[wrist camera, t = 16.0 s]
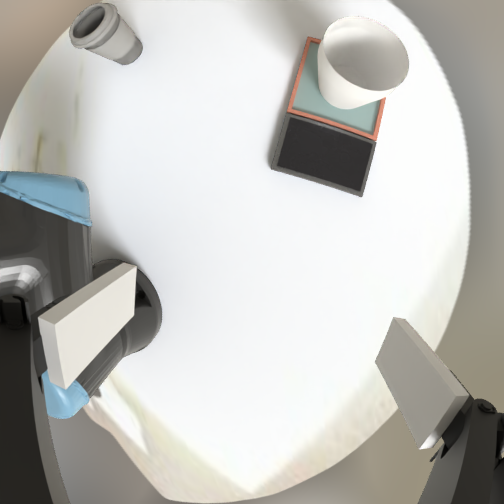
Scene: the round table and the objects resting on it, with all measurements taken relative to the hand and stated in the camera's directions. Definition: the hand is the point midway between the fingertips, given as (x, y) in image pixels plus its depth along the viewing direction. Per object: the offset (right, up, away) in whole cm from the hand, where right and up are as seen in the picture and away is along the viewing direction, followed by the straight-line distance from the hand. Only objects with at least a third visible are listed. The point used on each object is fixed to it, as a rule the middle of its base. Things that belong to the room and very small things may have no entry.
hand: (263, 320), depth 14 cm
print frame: (+11, +25, +19) cm, 33 cm away
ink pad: (+9, +16, +22) cm, 28 cm away
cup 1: (-19, +34, +20) cm, 43 cm away
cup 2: (+11, +25, +19) cm, 33 cm away
